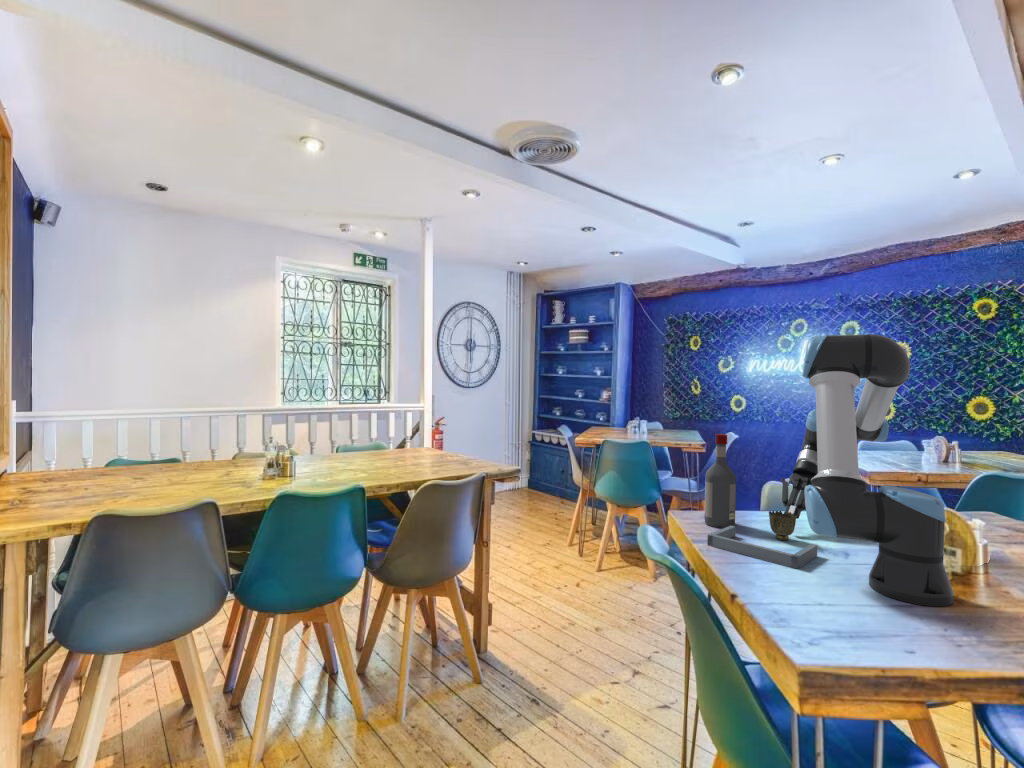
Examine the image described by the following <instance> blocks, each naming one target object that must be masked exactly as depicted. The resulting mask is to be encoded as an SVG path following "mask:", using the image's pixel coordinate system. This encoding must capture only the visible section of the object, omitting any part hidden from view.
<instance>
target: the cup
mask: <svg viewBox="0 0 1024 768" xmlns="http://www.w3.org/2000/svg"><path fill="white" fill-rule="evenodd" d="M796 516H797V515H796ZM796 516H794V514H792V513H791V512H789V513H788V514H787V513H786V510H785V511H784V512H782V511H781V510H776V511H775V510H772V511H771V510H769V511H768V517H769V526H770V529H771V531H772V532H773V533H774V535H775V536H774V537H775V539H776V540H779V541H784V542H785V541H788V540H789V539H790V537H789V536H791V535H792V534H793V533H794V531H795V527H796V522H797V519H796Z"/></svg>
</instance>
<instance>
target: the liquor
mask: <svg viewBox="0 0 1024 768" xmlns="http://www.w3.org/2000/svg"><path fill="white" fill-rule="evenodd" d="M714 439H715V440H714V443H715V460H714V463H712V465H711V466H710V467H709V468H708V469H707V470H706V472H705V477H704V480H705V481H704V482H705V483H704V516H703V518H704V522H705V524H706V526H709V527H712V528H721V529H723V528H726V527H728V526H735V527H736V501H737V500H736V496H737V495H736V490H737V489H736V487H737V485H736V484H737V479H736V475H735V473H734V471H732V469H731V468H730V466H729V464H727V445H728V434H727V433H726V434H724V433H715V438H714Z"/></svg>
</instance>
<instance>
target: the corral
mask: <svg viewBox="0 0 1024 768" xmlns="http://www.w3.org/2000/svg"><path fill="white" fill-rule="evenodd" d="M736 533H737V532H736V525H735V526H728V527H726V528H721V529H718V530H716V531H713V532H711V533H708V534H707V542H706V543H707V544H706V545H707V546H710V547H714V548H718V549H721V550H725V551H727V552H728V551H729V552H733V553H736V554H739V555H744V556H748V557H751V558H755V559H757V560H759V559H760V560H763V561H765V562H766V561H767V562H770V563H774V564H778V565H781V566H785V567H789V568H793V569H797V570H798V569H799V568H800V569H801V568H802V567H803V566H805V565H806V564H807V563H808V562H811V561H812V560H814V559H815V558H817V556H818V544H814V543H810V544H809V545H807V546H806V547H803V548H802V549H800V550H798V551H797V552H795V553H794V554H793V553H791V552H790V553H789V552H786V551H782V550H778V549H773V548H770V547H765V546H762V545H757V544H753V543H749V542H746V541H741V540H736V539H733V538H734V537H736Z"/></svg>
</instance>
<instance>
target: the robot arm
mask: <svg viewBox="0 0 1024 768" xmlns="http://www.w3.org/2000/svg"><path fill="white" fill-rule="evenodd" d="M910 373H911V362H910V358H909V356H908V353H907V352H906V351H905V349H903V347H902V346H901V345H900V344H899V343H898V342H896V341H895V340H894V339H891V338H890V337H887V336H884V335H880V334H873V333H872V334H840V335H839V334H837V335H835V334H834V335H830V334H824V335H814V336H811V337H809V338H808V340H807V343H806V348H805V355H804V361H803V368H802V378H805V379H808V384H809V386H810V387H811V388H812V389H814V390H815V408H814V409H813V410H810V411H809V413H808V414H807V417H806V420H805V429H804V435H803V442H802V445H801V448H800V450H799V453H798V456H797V458H796V462H795V464H794V468H793V470H792V474H791V475H790V476H789V477H788V478H784V477H781V478H780V481H781V484H782V489H781V490H782V491H781V492H782V493H781V502H782V504H783V506H784V507H785V511H786V513H787V514H788V513H789V512H791V513H792V514H794V516H796V515H797V516H796V520H797V519H800V516H801V514H802V513H801V512H802V511H805V512H806V518H807V522H808V524H809V527H810V529H811V531H812V532H813V533H814V534H816V535H820V536H824V537H829V538H830V537H831V538H833V539H836V538H837V539H838V538H839V539H847V540H853V541H854V540H855V541H862V542H869V543H876V544H878V554H877V556H876V557H875V560H874V562H873V565H872V566H871V570H870V572H869V574H868V586H869V587H870V588H871V589H873V590H874V591H876V592H878V593H879V594H881V595H884V596H887V597H889V598H892V599H895V600H898V601H901V602H905V603H910V604H915V605H920V606H927V607H947V606H950V605H952V604H953V602H954V590H953V587H952V586H951V585H952V584H951V582H950V580H949V577H948V574H947V570H946V568H945V566H944V565H945V564H944V555H945V554H944V551H945V525H946V524H945V523H946V520H947V519H946V513H945V512H946V511H945V505H944V503H943V501H942V500H941V499H939V498H938V497H936V496H934V495H931V494H928V493H924V492H921V491H918V490H914V489H909V488H904V487H899V486H892V485H882V486H881V487H880V488H879V489H878V491H871V490H868V483H867V481H866V480H865V479H864V478H862V477H861V476H860V473H859V472H860V470H859V453H858V441H863V442H869V443H870V442H885V441H886V440H887V439H888V436H889V423H888V422H889V421H888V420H887V419H886V416H887V414H888V412H889V410H890V408H891V407H890V406H892V405H891V404H892V403H893V401H894V397H895V396H896V393H897V391H898V388H899V387H901V386H902V385H903V384H905V383H906V381H907V379H908V377H909V375H910ZM861 379H865V382H864V385H863V389H862V391H861V394H860V397H859V401H858V404H857V406H855V405H856V404H855V388H856V387H857V386H859V385H860V383H861ZM855 407H856V408H855ZM791 484H792V489H791V492H790V495H789V486H790V485H791Z"/></svg>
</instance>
